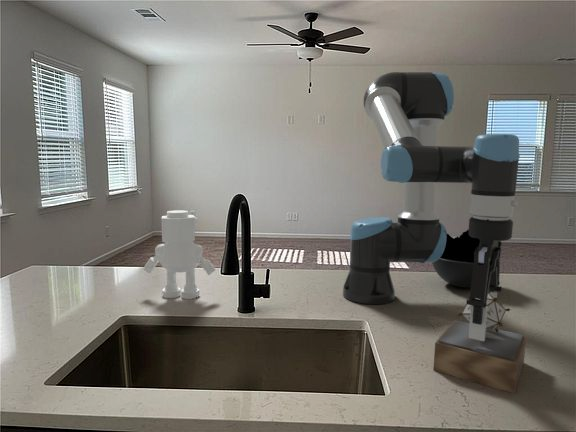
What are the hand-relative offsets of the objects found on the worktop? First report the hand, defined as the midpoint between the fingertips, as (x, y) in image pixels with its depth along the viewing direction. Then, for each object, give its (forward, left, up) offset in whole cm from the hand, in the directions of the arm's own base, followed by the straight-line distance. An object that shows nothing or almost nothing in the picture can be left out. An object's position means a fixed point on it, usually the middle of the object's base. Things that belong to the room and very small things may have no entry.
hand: (482, 330), depth 84 cm
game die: (0, 0, 0) cm, 0 cm away
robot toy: (-81, -6, -8) cm, 82 cm away
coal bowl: (-16, +55, -8) cm, 58 cm away
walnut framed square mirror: (0, 0, -8) cm, 8 cm away
